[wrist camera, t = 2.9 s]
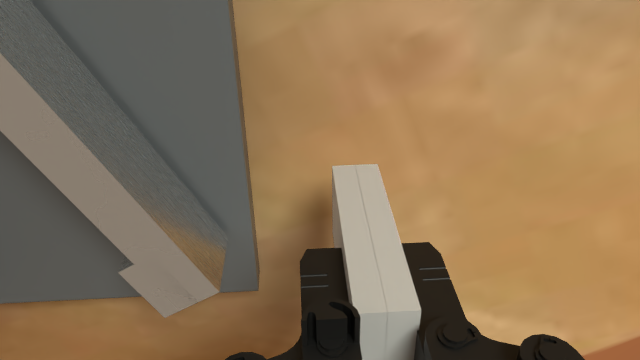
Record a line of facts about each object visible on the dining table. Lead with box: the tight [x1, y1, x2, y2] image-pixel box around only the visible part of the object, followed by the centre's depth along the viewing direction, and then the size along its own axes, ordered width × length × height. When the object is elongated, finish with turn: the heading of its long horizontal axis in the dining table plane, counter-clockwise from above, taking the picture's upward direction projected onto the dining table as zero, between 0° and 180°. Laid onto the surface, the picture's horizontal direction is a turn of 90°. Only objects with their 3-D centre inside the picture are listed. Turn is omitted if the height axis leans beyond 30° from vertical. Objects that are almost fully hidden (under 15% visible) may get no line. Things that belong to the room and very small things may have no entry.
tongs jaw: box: [0, 0, 228, 318], centre depth 15 cm, size 15×2×3 cm, turn 29°
